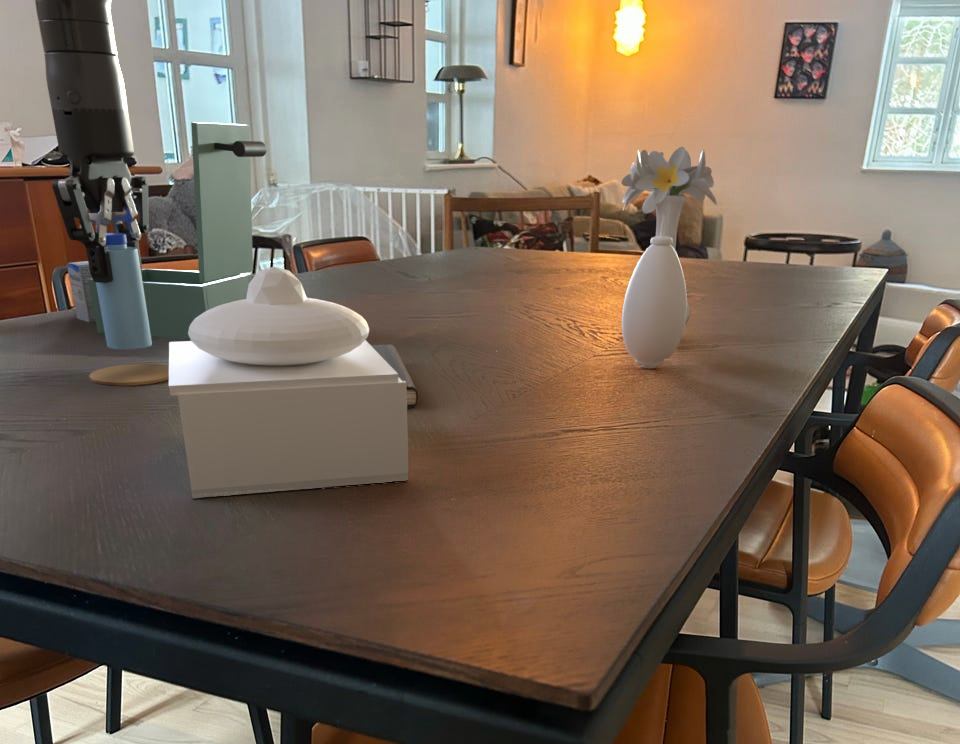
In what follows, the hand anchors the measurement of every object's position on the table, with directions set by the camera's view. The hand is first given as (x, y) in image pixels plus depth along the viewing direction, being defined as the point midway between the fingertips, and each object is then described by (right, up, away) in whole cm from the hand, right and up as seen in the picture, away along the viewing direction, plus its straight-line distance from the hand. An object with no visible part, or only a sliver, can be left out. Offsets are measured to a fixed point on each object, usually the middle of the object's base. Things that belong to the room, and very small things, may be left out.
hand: (118, 278), depth 103 cm
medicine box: (-16, +7, +36) cm, 41 cm away
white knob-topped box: (+24, -25, -22) cm, 41 cm away
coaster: (0, -10, +5) cm, 11 cm away
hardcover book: (+25, -12, +3) cm, 27 cm away
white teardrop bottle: (+63, -6, +14) cm, 65 cm away
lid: (+7, +18, +19) cm, 27 cm away
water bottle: (0, -7, +4) cm, 7 cm away
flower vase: (+67, +4, +33) cm, 75 cm away
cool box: (-3, +3, +29) cm, 30 cm away
